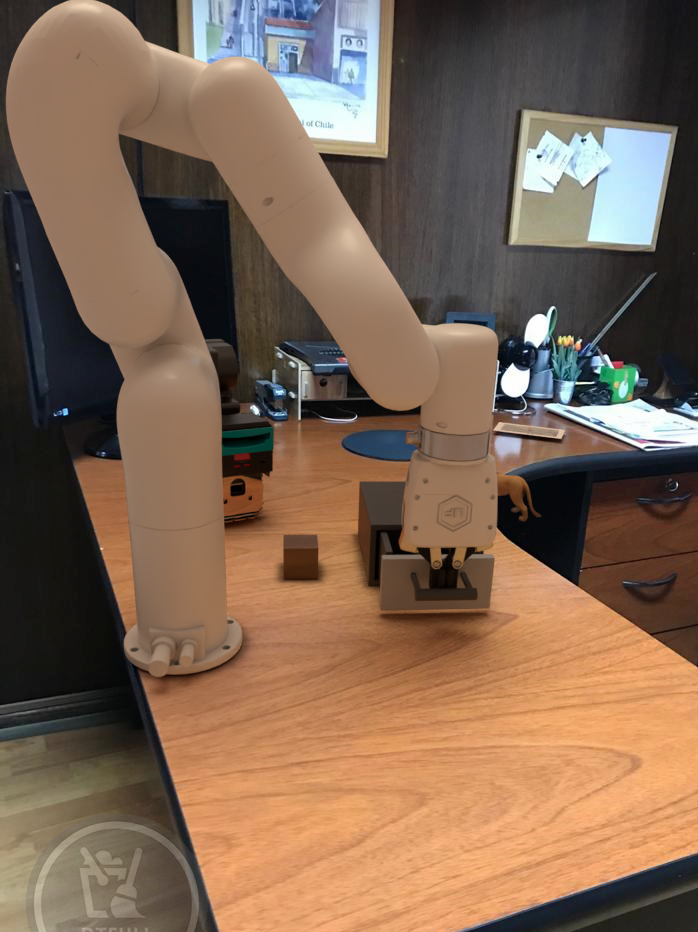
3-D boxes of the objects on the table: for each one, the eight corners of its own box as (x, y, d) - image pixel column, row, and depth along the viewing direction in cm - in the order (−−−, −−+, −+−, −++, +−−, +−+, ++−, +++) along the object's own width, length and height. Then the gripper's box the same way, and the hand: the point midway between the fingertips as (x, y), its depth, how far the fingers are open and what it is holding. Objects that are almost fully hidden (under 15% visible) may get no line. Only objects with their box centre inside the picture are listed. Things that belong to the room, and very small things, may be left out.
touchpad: (498, 426, 179) (499, 417, 178) (564, 434, 175) (565, 425, 174) (492, 435, 172) (493, 425, 171) (560, 443, 168) (562, 433, 167)
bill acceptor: (213, 535, 113) (207, 365, 104) (162, 488, 131) (152, 339, 122) (278, 523, 119) (277, 360, 110) (220, 479, 136) (215, 336, 127)
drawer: (501, 632, 89) (507, 579, 86) (385, 635, 87) (388, 581, 85) (462, 555, 108) (466, 510, 106) (367, 556, 107) (369, 510, 104)
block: (318, 579, 102) (318, 548, 100) (283, 579, 101) (283, 548, 99) (316, 564, 106) (317, 534, 104) (283, 564, 105) (283, 534, 104)
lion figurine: (449, 508, 128) (453, 456, 125) (460, 498, 133) (464, 448, 129) (536, 525, 123) (543, 471, 119) (544, 514, 127) (551, 462, 124)
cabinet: (478, 584, 102) (483, 524, 99) (368, 585, 100) (370, 524, 97) (453, 534, 118) (457, 481, 114) (357, 535, 116) (359, 481, 113)
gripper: (389, 452, 78) (382, 612, 85) (531, 453, 80) (513, 609, 87) (380, 432, 85) (374, 581, 92) (511, 433, 87) (496, 579, 94)
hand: (442, 594), depth 90 cm, fingers closed
